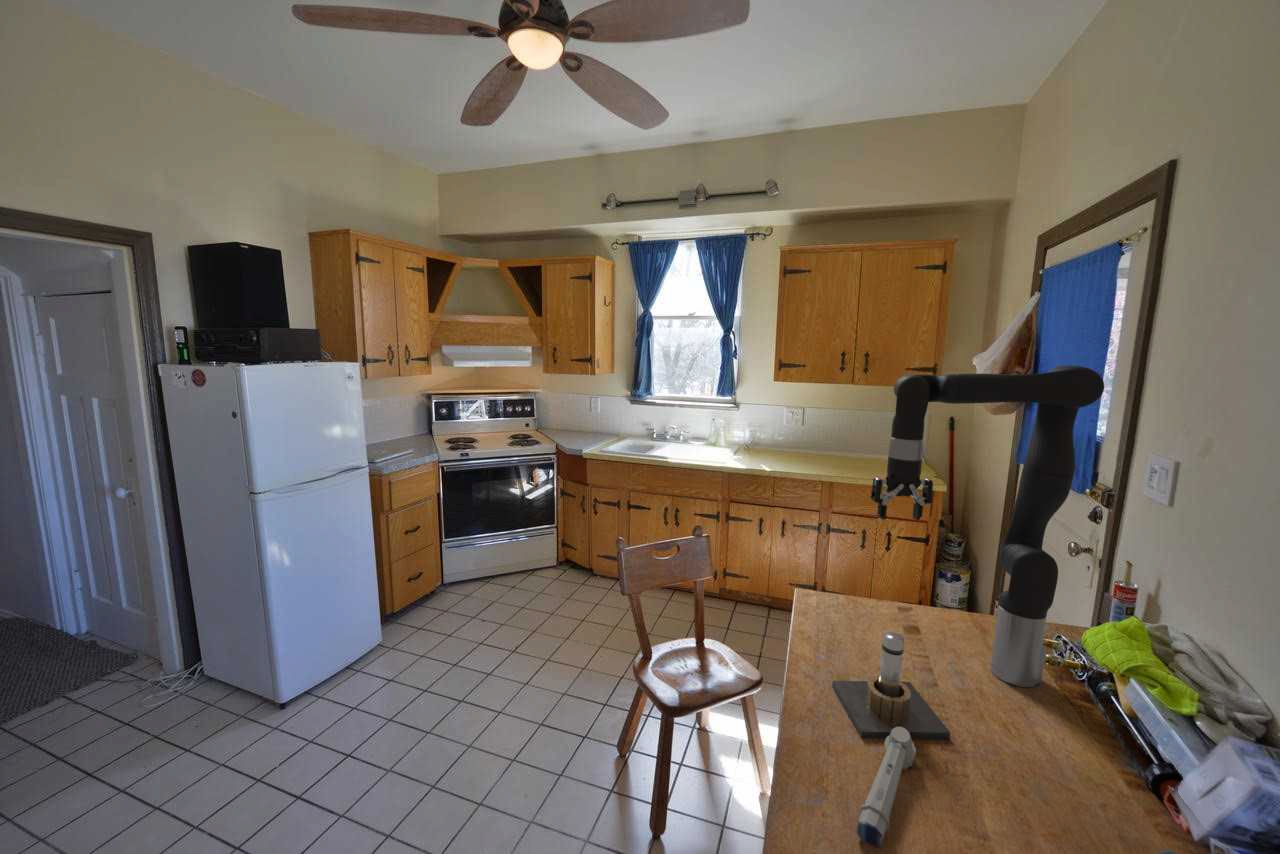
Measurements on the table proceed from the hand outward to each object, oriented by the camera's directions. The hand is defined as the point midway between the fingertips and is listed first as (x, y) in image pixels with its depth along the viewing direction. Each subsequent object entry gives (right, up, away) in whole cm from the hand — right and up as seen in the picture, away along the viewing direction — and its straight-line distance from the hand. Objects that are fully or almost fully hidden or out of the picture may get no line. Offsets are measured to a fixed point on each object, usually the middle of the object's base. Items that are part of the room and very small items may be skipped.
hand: (899, 518), depth 129 cm
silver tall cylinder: (-12, -38, -17) cm, 43 cm away
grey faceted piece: (-21, -43, -38) cm, 61 cm away
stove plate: (-11, -39, -17) cm, 44 cm away
